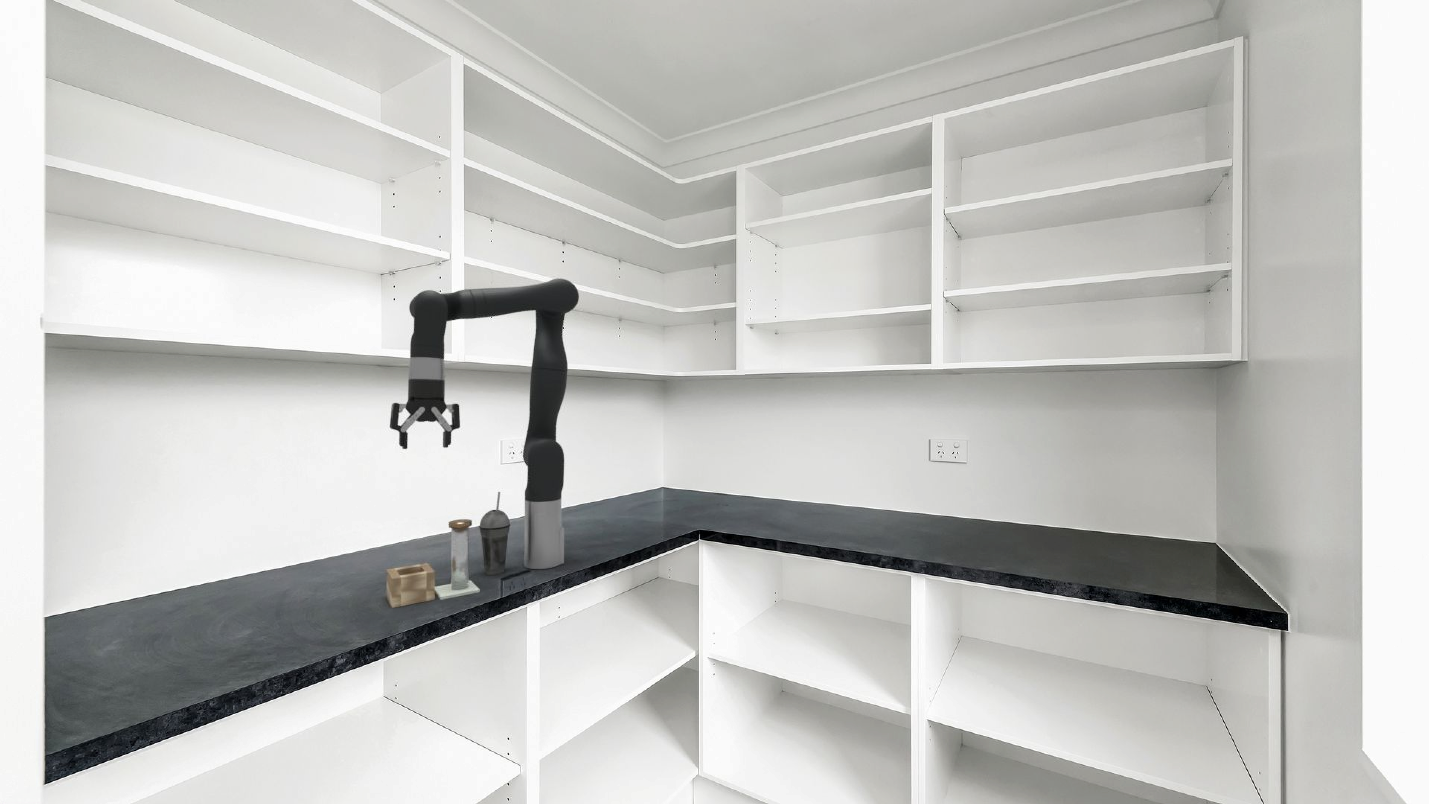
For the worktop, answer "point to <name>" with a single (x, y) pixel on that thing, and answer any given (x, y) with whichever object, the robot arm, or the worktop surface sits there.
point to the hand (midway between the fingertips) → (425, 448)
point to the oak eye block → (410, 585)
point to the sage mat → (455, 591)
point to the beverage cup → (494, 540)
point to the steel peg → (460, 553)
